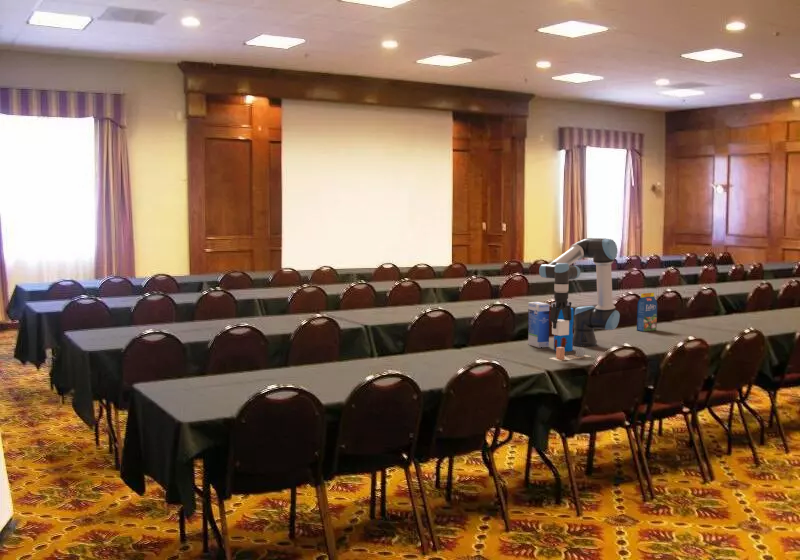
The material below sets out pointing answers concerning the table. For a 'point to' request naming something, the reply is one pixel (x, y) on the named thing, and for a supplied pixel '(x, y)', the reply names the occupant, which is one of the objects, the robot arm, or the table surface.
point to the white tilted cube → (562, 327)
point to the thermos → (565, 340)
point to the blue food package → (647, 312)
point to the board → (569, 357)
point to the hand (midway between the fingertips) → (560, 333)
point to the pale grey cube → (580, 352)
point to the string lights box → (538, 324)
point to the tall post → (560, 352)
